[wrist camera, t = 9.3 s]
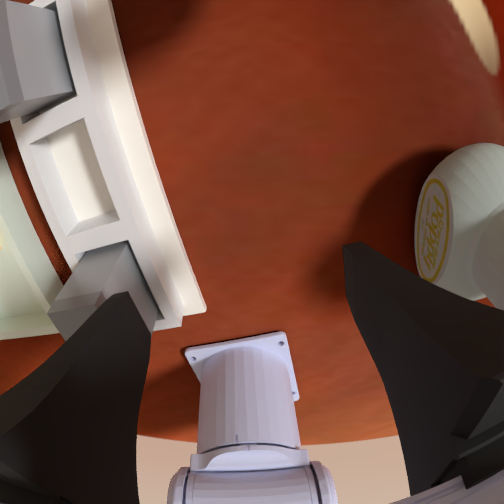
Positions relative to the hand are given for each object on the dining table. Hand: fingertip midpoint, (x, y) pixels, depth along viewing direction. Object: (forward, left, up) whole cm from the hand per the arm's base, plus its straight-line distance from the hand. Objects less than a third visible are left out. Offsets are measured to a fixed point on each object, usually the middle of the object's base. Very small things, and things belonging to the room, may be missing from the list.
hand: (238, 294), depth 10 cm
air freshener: (-4, -15, -10) cm, 18 cm away
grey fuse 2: (-3, +8, -9) cm, 12 cm away
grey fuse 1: (+11, +8, -9) cm, 16 cm away
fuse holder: (+4, +8, -9) cm, 13 cm away
